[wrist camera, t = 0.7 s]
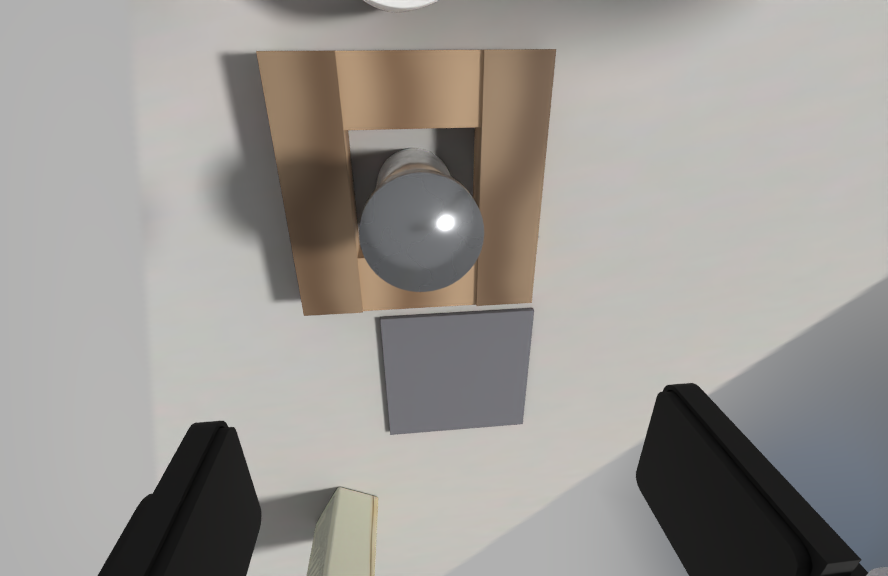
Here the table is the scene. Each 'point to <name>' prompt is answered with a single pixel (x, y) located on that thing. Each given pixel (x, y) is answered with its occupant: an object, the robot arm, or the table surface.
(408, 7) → the teacup
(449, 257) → the grey light bulb
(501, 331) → the mat
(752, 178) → the table surface
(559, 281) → the table surface
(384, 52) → the wooden square frame
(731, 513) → the robot arm
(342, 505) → the skincare box
